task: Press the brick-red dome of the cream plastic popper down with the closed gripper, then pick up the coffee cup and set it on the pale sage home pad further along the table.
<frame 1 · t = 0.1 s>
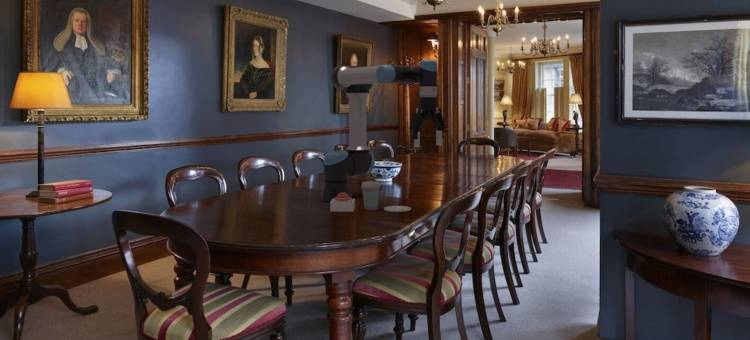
hand: (428, 146, 246), 28 cm above the table, fingers open, 13 cm apart
coffee cup: (371, 209, 252), on the table
dome plunger: (342, 198, 251), point 5 cm above the table, slide at 0.0 cm
popper housing: (342, 209, 251), on the table
home pad: (397, 209, 251), on the table
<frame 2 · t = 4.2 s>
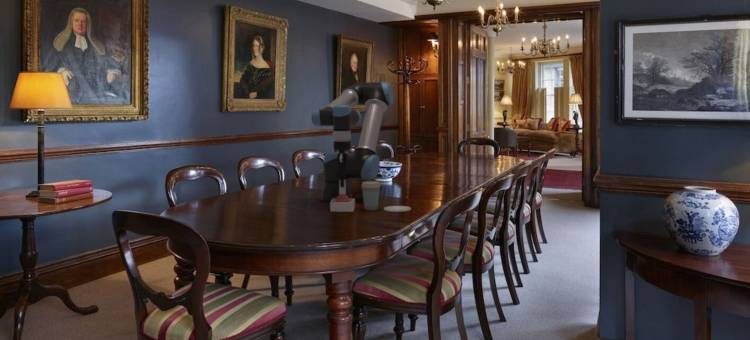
hand: (342, 194, 250), 7 cm above the table, fingers closed
dome plunger: (342, 200, 251), point 4 cm above the table, slide at 0.7 cm, touching gripper
everything else where it was.
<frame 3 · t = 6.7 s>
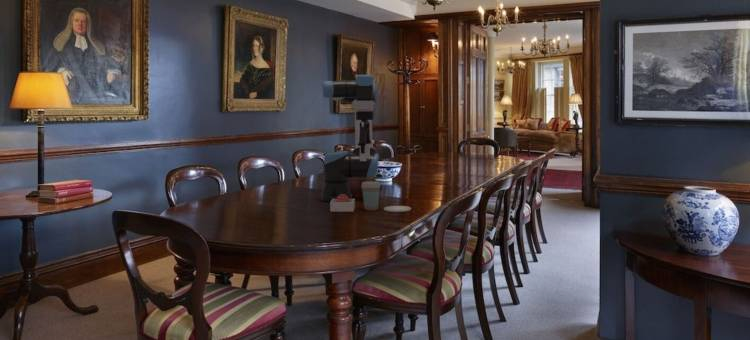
hand: (365, 159, 248), 22 cm above the table, fingers open, 13 cm apart
dome plunger: (342, 200, 251), point 4 cm above the table, slide at 0.8 cm
everything else where it was.
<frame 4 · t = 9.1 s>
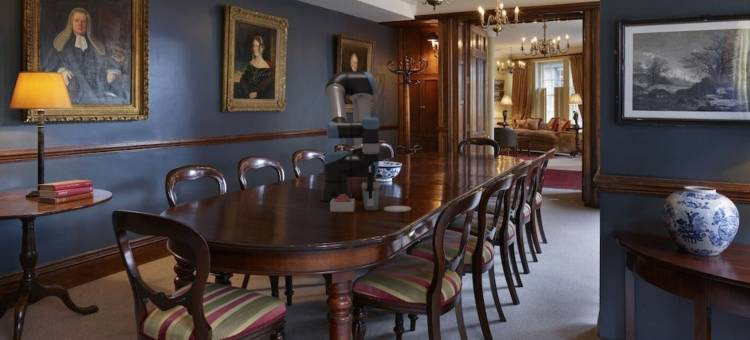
hand: (370, 203, 251), 2 cm above the table, fingers closed on coffee cup, 8 cm apart
coffee cup: (371, 209, 252), on the table, touching gripper
everything else where it was.
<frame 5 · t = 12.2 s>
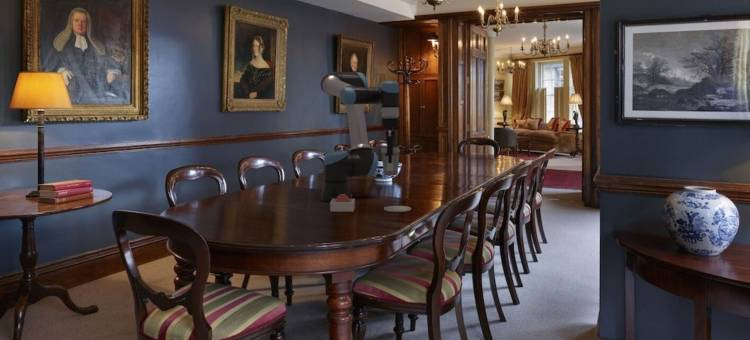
hand: (390, 169, 249), 18 cm above the table, fingers closed on coffee cup, 8 cm apart
coffee cup: (390, 175, 249), point 15 cm above the table, touching gripper
everything else where it was.
when the fingers open (4 cm above the table, at t = 15.4 s): coffee cup drops 1 cm, resting on home pad.
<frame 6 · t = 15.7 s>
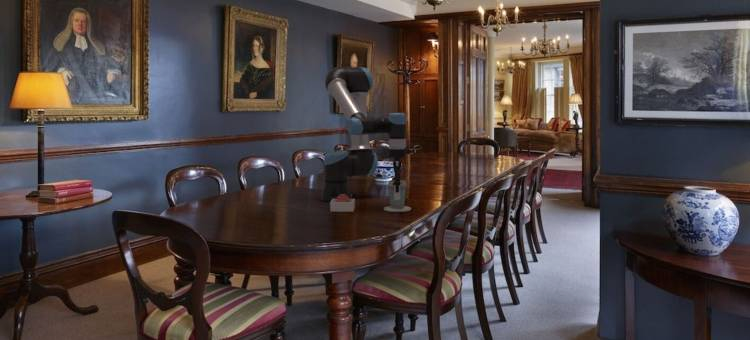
hand: (397, 197, 250), 5 cm above the table, fingers open, 12 cm apart
coffee cup: (397, 208, 251), resting on home pad
everything else where it was.
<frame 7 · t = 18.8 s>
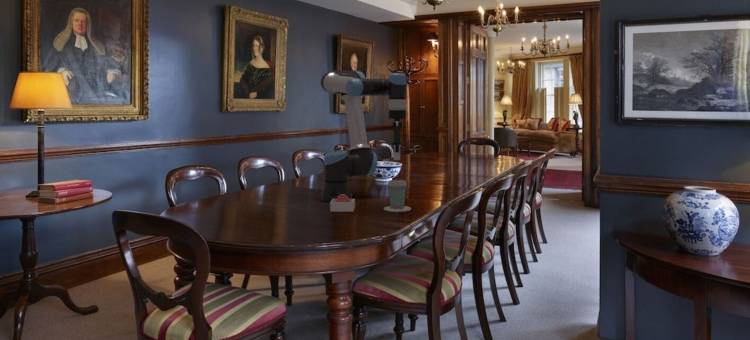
hand: (397, 158, 249), 23 cm above the table, fingers open, 13 cm apart
nothing on the table moved.
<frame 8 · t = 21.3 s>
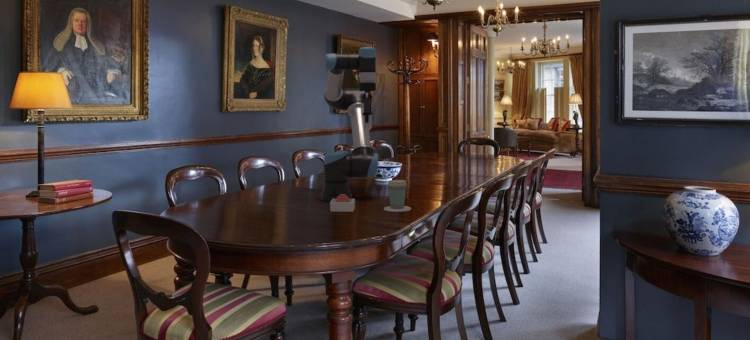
hand: (367, 129, 258), 35 cm above the table, fingers open, 13 cm apart
nothing on the table moved.
at the end: dome plunger slide at 0.8 cm; coffee cup 0.3 cm from the home pad (horizontally); coffee cup tilted 0° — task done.
